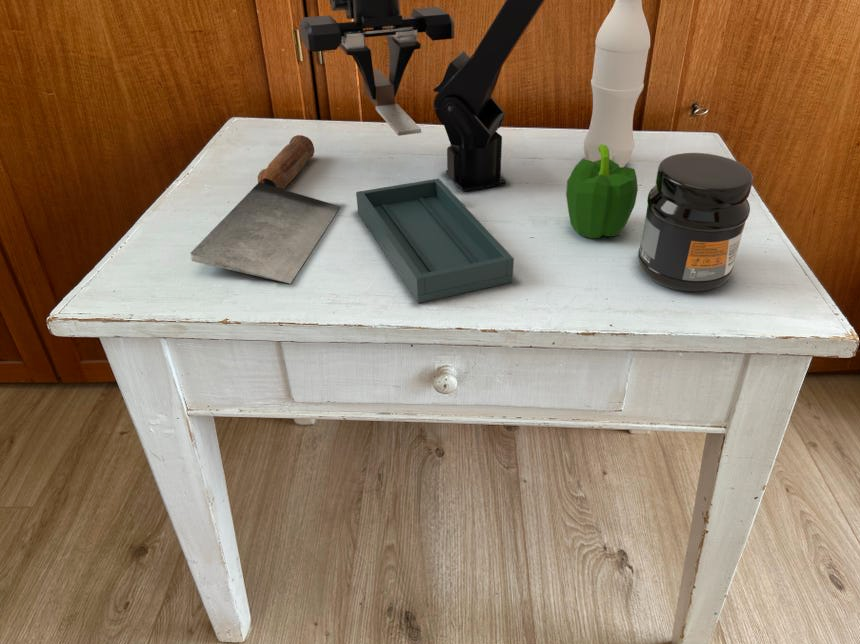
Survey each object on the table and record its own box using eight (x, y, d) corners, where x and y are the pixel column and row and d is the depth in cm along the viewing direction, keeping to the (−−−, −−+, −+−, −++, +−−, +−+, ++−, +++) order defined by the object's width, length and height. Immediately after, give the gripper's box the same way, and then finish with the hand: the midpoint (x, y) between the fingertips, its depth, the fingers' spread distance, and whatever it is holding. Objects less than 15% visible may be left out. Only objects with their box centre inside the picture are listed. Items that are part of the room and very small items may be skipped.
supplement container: (747, 292, 77) (778, 188, 69) (655, 299, 75) (677, 195, 68) (706, 244, 85) (730, 147, 77) (622, 250, 83) (639, 152, 76)
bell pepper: (624, 251, 83) (637, 171, 77) (556, 239, 85) (564, 160, 79) (635, 220, 89) (648, 143, 83) (571, 210, 91) (580, 134, 85)
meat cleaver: (291, 283, 76) (286, 250, 73) (191, 274, 77) (182, 242, 74) (369, 163, 102) (367, 136, 100) (293, 157, 103) (289, 130, 101)
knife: (382, 91, 99) (381, 69, 98) (421, 132, 87) (420, 108, 85) (362, 94, 99) (359, 71, 97) (398, 136, 86) (396, 111, 84)
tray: (439, 199, 93) (438, 178, 91) (512, 282, 77) (513, 258, 75) (357, 213, 89) (355, 191, 87) (417, 303, 73) (416, 279, 72)
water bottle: (638, 161, 104) (670, -30, 89) (618, 178, 99) (648, -21, 84) (594, 150, 107) (617, -36, 92) (573, 166, 102) (593, -28, 87)
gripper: (425, -49, 93) (429, 73, 103) (283, -41, 88) (301, 87, 97) (455, -35, 85) (456, 96, 95) (300, -25, 80) (318, 113, 89)
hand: (383, 97), depth 94 cm, fingers closed on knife, 2 cm apart
